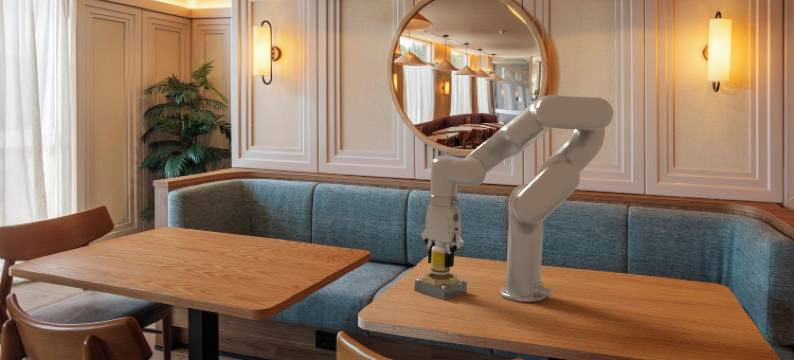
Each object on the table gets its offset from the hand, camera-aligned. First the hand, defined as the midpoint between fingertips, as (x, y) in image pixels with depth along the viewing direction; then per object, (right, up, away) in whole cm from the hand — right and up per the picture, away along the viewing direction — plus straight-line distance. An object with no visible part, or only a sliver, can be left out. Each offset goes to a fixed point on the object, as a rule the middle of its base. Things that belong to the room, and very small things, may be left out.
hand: (440, 264), depth 169 cm
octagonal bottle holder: (0, -8, +1) cm, 8 cm away
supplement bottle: (0, -3, 0) cm, 3 cm away
